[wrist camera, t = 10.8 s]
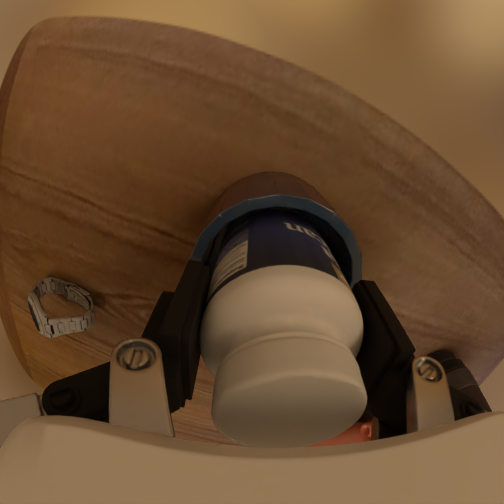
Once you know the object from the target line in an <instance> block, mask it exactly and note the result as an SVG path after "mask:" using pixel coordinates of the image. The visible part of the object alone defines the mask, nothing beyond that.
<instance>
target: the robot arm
mask: <svg viewBox="0 0 504 504" xmlns="http://www.w3.org/2000/svg"><path fill="white" fill-rule="evenodd" d="M208 285H209V266H204V262H203V261H195V260H189V261H188V263H187V266H186V268H185V270H184V273H183V275H182V277H181V279H180V282H179V284H178V286H177V289H176V291H175V293H173V292H167V291H163V292H162V294H161V296H160V298H159V300H158V302H157V304H156V306H155V308H154V310H153V312H152V315H151V317H150V319H149V321H148V323H147V325H146V327H145V330H144V332H143V334H142V336H141V337H131V338H127V339H124V340H122V341H120V342H119V343H118V344H116V345H115V347H114V348H113V350H112V353H111V361H110V362H107V363H105V364H102V365H99V366H97V367H94V368H91V369H88V370H86V371H83V372H80V373H78V374H75V375H72V376H69V377H66V378H63V379H61V380H58V381H55V382H53V383H51V384H50V385H49V386H48V387H47V388H46V389H45V391H44V392H43V394H42V395H39V396H38V394H37V393H32V394H28V395H24V396H20V397H15V398H11V399H6V400H2V401H0V504H504V412H503V411H496V412H488V411H483V408H482V406H481V404H480V403H479V402H478V401H476V400H475V399H473V398H471V397H470V396H468V395H466V394H464V393H463V392H461V391H459V390H457V389H455V388H454V387H452V386H450V385H448V382H447V377H446V373H445V370H444V368H443V367H442V365H441V364H440V363H439V362H438V361H437V360H435V359H433V358H432V357H429V356H418V357H416V358H415V356H414V355H413V353H414V352H415V348H414V346H413V344H412V343H411V341H410V339H409V337H408V336H407V334H406V332H405V330H404V329H403V327H402V325H401V324H400V322H399V320H398V319H397V317H396V315H395V314H394V312H393V310H392V309H391V307H390V306H389V304H388V302H387V301H386V299H385V298H384V296H383V294H382V293H381V291H380V290H379V288H378V287H377V285H376V284H375V282H374V281H367V280H360V281H359V282H358V283H355V284H354V286H353V288H352V292H353V294H354V297H355V299H356V301H357V304H358V306H359V309H360V311H361V314H362V319H363V327H364V333H363V341H362V345H361V348H360V351H359V353H358V355H357V357H356V361H357V363H358V366H359V369H360V373H361V377H362V380H363V383H364V386H365V390H366V393H367V404H366V408H365V410H364V412H363V414H369V413H371V414H372V415H373V418H372V429H371V440H370V441H366V442H358V443H350V444H341V445H330V446H316V447H249V446H235V445H224V444H214V443H206V442H199V441H192V440H186V439H179V438H175V434H174V428H173V423H172V417H171V413H173V412H175V411H177V410H179V409H180V407H184V406H185V401H186V399H188V400H191V399H192V395H193V390H194V385H195V380H196V375H197V369H198V365H199V360H200V355H201V350H200V344H199V332H200V326H201V320H202V316H203V311H204V308H205V303H206V300H207V296H208Z"/></svg>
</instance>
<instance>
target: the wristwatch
mask: <svg viewBox="0 0 504 504" xmlns="http://www.w3.org/2000/svg"><path fill="white" fill-rule="evenodd" d="M52 292H55V293H58V294H63V295H64V296H65V297H66V298H67V301H73V302H75V303H77V304H78V305H80V306H81V307H83V308H84V309H86V310H87V312H86V313H85V314H83V315H80V316H72V317H51V318H50V317H48V315H47V314H46V313H45V312H44V309H43V307H42V305H41V303H40V299H41V298H42V297H43V296H44V295H45V294H48V293H52ZM28 305H29V309H30V312H31V315H32V318H33V320H34V323H35V325H36V327H37V329H38V331H39V332H40V333H41V334H42V335H45V336H46V337H50V338H51V337H52V336H53V338H54V337H58V336H60V335H63V334H69V333H72V332H82V331H85V330H88V329H89V328H90V327H91V326H92V325H93V324H94V320H95V307H94V304H93V301H92V298H91V295H90V293H89V292H87V291H86V290H85V289H83V288H81V287H79V285H77V284H75V283H71V282H67V281H64V280H62V279H59V278H54V277H48V278H45V279H43V280H40V281H39V282H37V283H36V284H35V285H34V287H33V288H32V290H31V291H30V293H29V296H28Z"/></svg>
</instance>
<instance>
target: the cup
mask: <svg viewBox="0 0 504 504" xmlns="http://www.w3.org/2000/svg"><path fill="white" fill-rule="evenodd" d="M277 206H280V207H287V208H291V209H293V210H296V211H298V212H300V213H301V214H303V215H304V216H306V217H307V218H308V219H309V220H310V221H311V222H312V223H313V224H314V225H315V226H316V228H317V229H318V231H319V232H320V234H321V235H322V237H323V239H324V241H325V243H326V244H327V246H328V248H329V250H330V251H331V253H332V255H333V257H334V258H335V260H336V262H337V264H338V266H339V268H340V270H341V272H342V273H343V275H344V277H345V279H346V281H347V283H348V285H349V287H350V288H351V290H352V288H353V286H354V284H355V283H358V282H359V281H360V280H361V277H362V256H361V252H360V249H359V246H358V244H357V241H356V238H355V236H354V233H353V232H352V230H351V229H350V228H349V227H348V225H347V224H346V223H345V222H344V221H343V219H342V218H341V217H340V216H339V215H338V214H337V212H336V211H335V210H334V209H333V208H332V207H331V206H330V204H329V203H328V202H327V201H326V200H325V199H324V198H323V197H322V196H321V195H320V193H319V192H318V191H317V190H316V189H315V188H314V187H313V186H311V185H310V184H308V183H307V182H306V181H304V180H302V179H300V178H298V177H296V176H293V175H290V174H286V173H281V172H262V173H257V174H253V175H250V176H247V177H244V178H242V179H240V180H238V181H237V182H235V183H234V184H232V185H231V186H230V187H229V188H227V189H226V190H225V191H224V192H223V194H222V195H221V196H220V197H219V198H218V200H217V201H216V203H215V204H214V206H213V208H212V210H211V212H210V214H209V216H208V218H207V220H206V222H205V224H204V226H203V228H202V230H201V233H200V235H199V237H198V239H197V242H196V244H195V246H194V249H193V251H192V254H191V256H190V260H195V261H203V262H204V266H209V285H208V292H209V288H210V284H211V280H212V276H213V272H214V268H215V264H216V261H217V257H218V253H219V249H220V246H221V243H222V240H223V238H224V235H225V233H226V232H227V230H228V228H229V227H230V226H231V225H232V223H233V222H234V221H235V220H236V219H237V218H239V217H240V216H242V215H244V214H246V213H248V212H250V211H253V210H258V209H264V208H270V207H277Z"/></svg>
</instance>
